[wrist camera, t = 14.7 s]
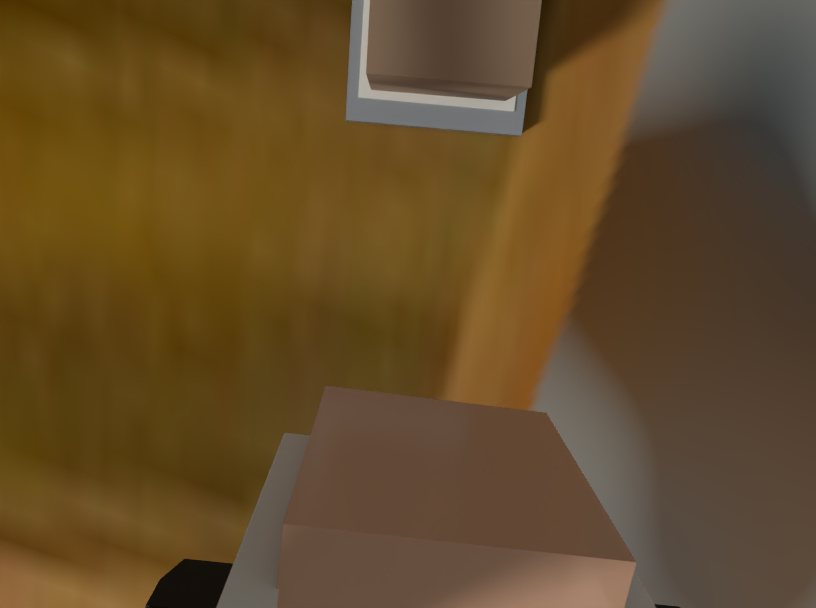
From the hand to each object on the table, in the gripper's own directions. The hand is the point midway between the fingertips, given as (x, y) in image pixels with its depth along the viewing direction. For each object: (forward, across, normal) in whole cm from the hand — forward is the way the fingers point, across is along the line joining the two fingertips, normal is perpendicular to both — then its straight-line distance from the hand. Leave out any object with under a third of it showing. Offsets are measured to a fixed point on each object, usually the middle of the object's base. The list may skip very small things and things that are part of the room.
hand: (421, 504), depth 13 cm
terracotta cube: (0, 0, 0) cm, 0 cm away
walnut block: (+16, 0, +13) cm, 21 cm away
